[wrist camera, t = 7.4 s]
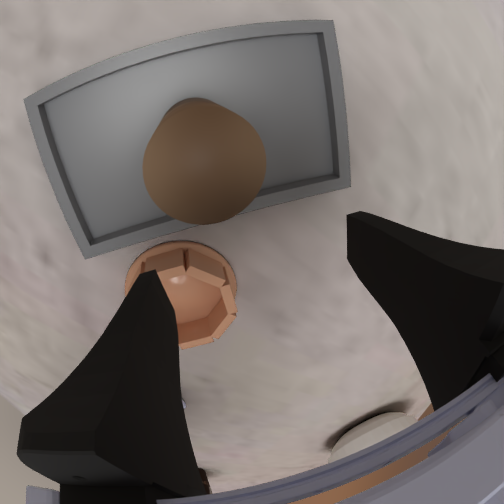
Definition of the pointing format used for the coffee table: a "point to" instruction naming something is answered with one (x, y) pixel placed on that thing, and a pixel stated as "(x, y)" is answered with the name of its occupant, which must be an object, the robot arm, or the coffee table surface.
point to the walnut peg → (203, 162)
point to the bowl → (370, 433)
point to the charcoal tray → (179, 88)
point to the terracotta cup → (192, 288)
